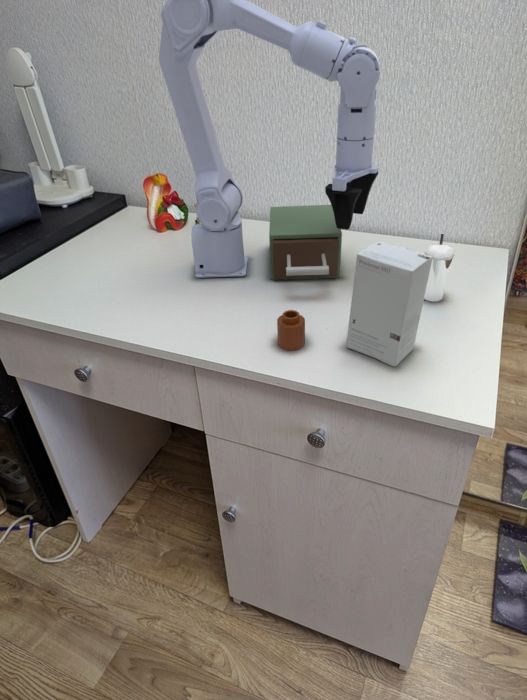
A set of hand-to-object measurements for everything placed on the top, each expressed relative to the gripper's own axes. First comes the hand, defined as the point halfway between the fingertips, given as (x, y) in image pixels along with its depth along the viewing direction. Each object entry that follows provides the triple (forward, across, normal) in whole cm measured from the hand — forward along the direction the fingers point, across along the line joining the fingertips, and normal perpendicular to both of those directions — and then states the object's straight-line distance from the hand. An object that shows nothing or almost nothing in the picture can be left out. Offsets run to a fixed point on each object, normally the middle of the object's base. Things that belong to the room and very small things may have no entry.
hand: (350, 220), depth 85 cm
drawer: (+9, -3, +7) cm, 12 cm away
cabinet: (+10, +2, +10) cm, 14 cm away
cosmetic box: (+10, -21, -12) cm, 26 cm away
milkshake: (+10, -3, -16) cm, 19 cm away
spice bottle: (+10, -25, 0) cm, 27 cm away
